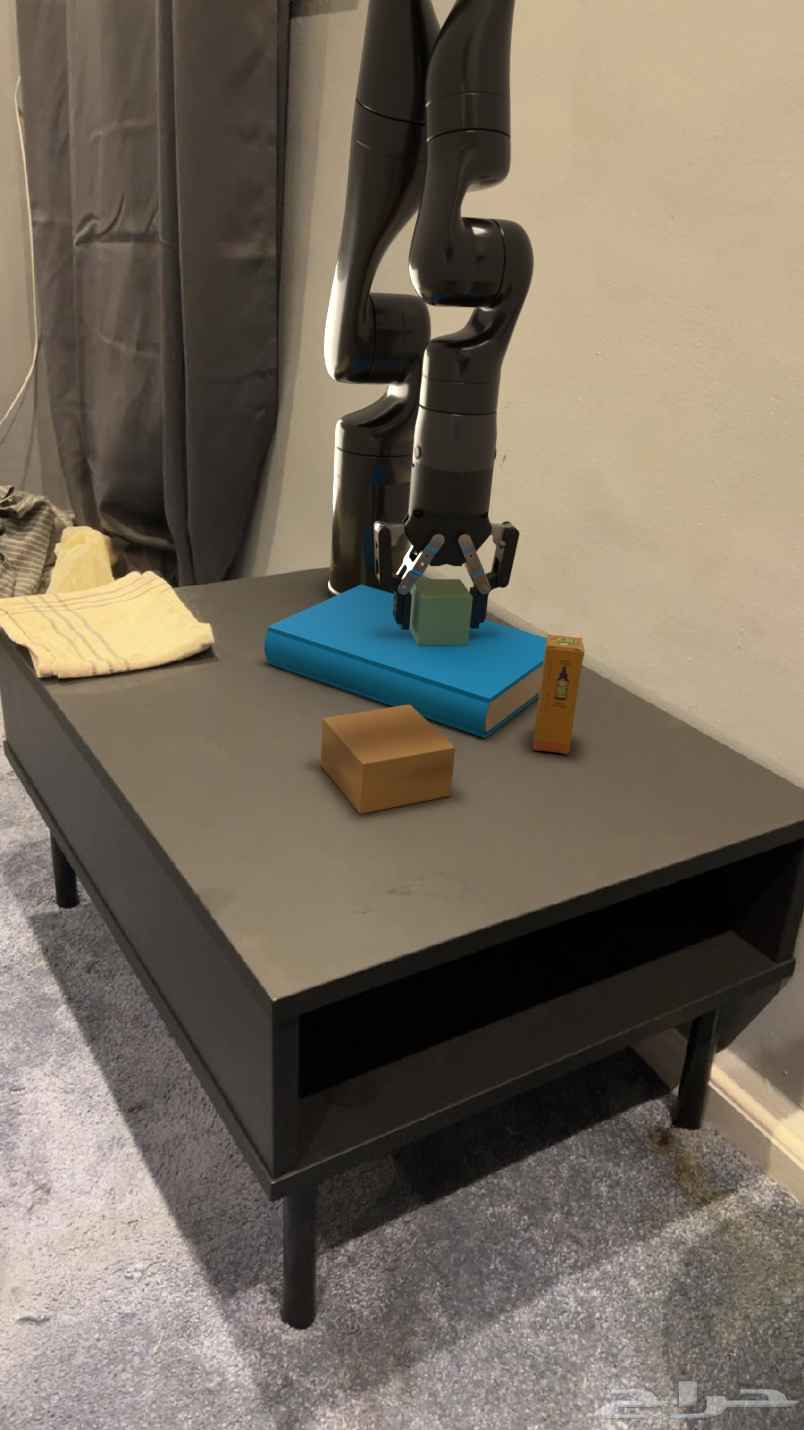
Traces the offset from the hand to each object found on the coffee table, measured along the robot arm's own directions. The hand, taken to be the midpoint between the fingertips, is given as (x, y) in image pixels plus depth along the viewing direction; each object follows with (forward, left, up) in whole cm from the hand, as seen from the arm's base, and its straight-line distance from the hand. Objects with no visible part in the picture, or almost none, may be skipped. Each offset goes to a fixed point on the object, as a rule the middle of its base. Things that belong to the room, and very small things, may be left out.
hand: (438, 626), depth 104 cm
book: (0, -2, -5) cm, 5 cm away
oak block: (+21, -9, -5) cm, 23 cm away
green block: (0, 0, -1) cm, 1 cm away
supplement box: (+16, +7, -5) cm, 18 cm away
